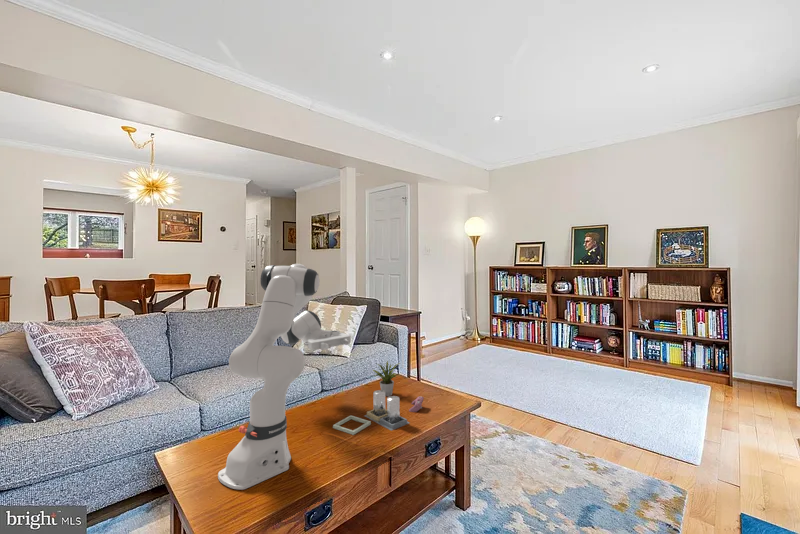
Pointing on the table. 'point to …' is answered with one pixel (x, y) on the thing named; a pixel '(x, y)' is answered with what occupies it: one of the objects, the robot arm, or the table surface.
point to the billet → (393, 409)
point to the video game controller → (416, 404)
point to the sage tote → (338, 427)
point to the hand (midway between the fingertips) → (338, 344)
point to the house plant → (386, 379)
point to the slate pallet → (383, 420)
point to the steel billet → (379, 402)
